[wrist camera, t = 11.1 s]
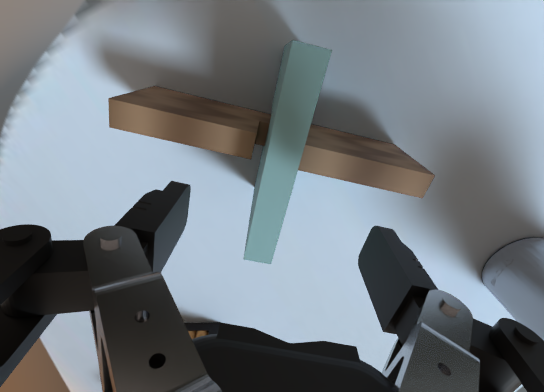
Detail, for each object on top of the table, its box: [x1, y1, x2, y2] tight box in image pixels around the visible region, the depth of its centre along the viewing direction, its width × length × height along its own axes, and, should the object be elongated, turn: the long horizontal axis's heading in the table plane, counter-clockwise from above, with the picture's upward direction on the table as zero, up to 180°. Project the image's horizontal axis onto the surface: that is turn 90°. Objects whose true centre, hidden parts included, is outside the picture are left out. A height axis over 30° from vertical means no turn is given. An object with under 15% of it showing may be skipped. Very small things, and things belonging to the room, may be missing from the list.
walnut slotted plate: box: [109, 86, 435, 198], centre depth 24 cm, size 24×2×8 cm, turn 77°
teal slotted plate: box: [244, 40, 332, 264], centre depth 22 cm, size 2×14×12 cm, turn 168°
